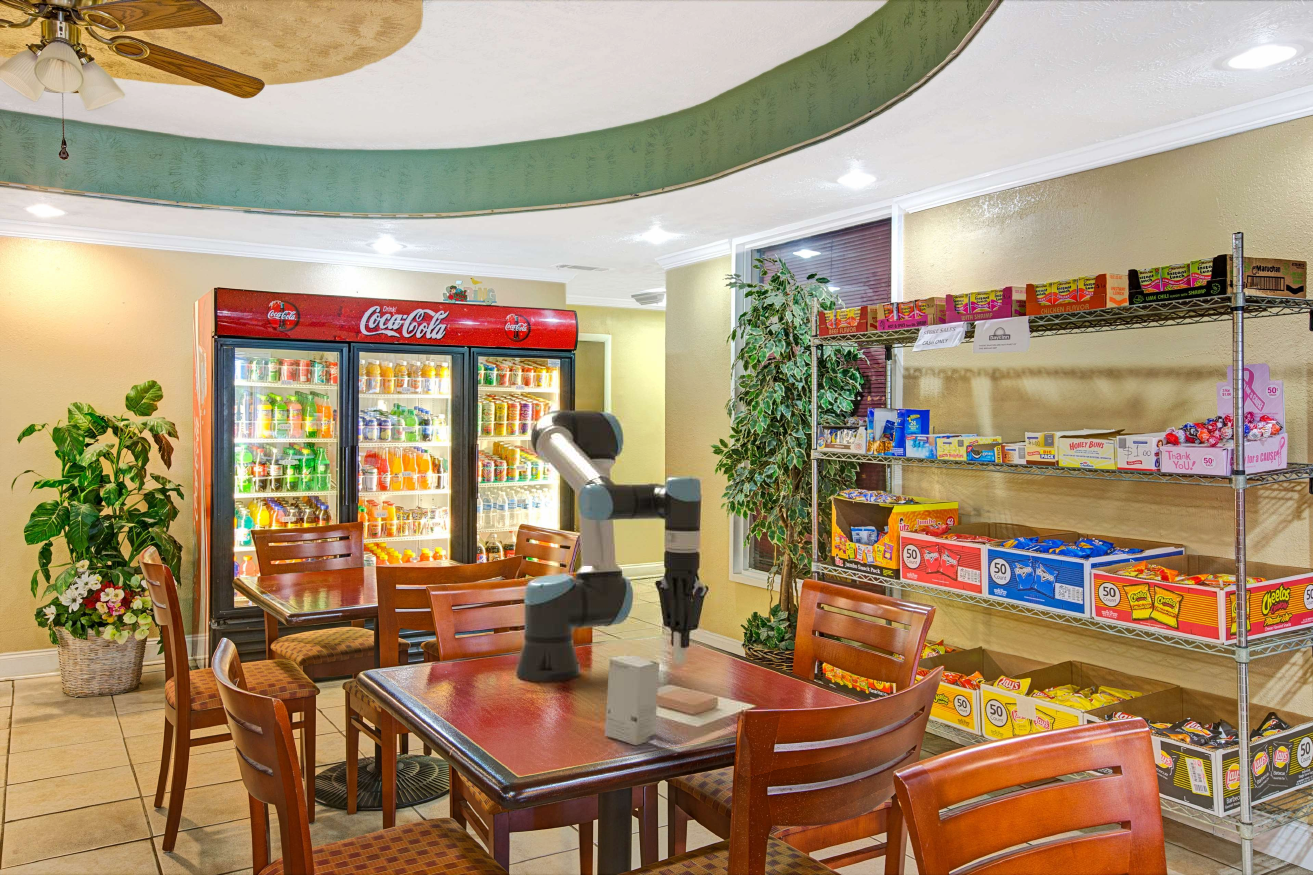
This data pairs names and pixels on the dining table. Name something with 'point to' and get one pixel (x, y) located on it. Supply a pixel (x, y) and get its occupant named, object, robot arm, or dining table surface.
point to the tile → (687, 701)
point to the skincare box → (632, 699)
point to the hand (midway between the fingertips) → (679, 662)
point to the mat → (723, 710)
